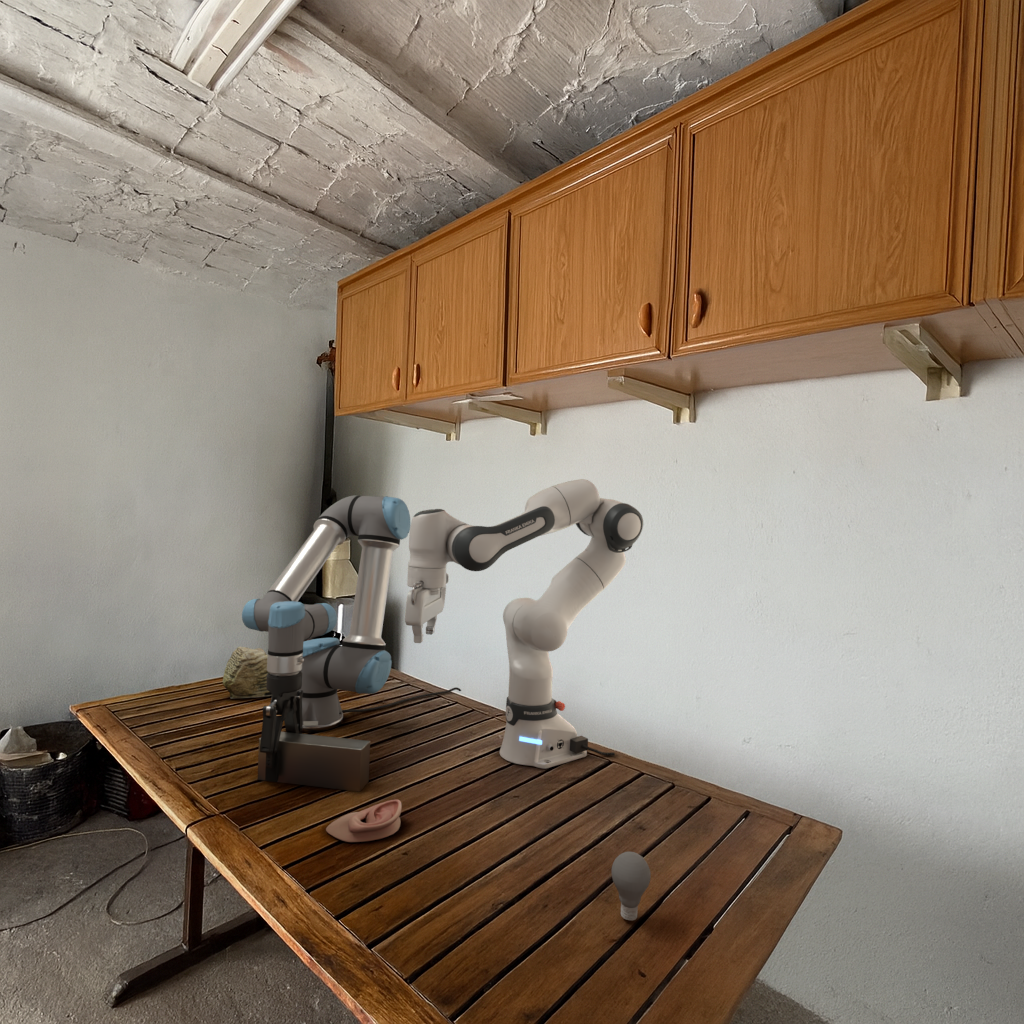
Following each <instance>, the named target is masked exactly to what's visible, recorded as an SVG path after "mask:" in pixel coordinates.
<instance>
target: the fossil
mask: <svg viewBox="0 0 1024 1024" xmlns="http://www.w3.org/2000/svg"><path fill="white" fill-rule="evenodd" d="M267 658H268V653H266V652H265V650H264V649H263V648H260V647H258V648H251V647H247V646H246V647H245V646H238V647H237V648H236V649H235V650H233V651H232V653H231V656H230V657H229V659H228V660H227V663H226V666H225V668H224V671H223V675H222V676H223V677H222V685H223V687H224V688H225V690H226V691H228V693H229V698H230V699H250V698H264V697H272V693H271V692H269V691H268V690H267V689H266V683H267V674H268V673H269V672H268V671H267Z"/></svg>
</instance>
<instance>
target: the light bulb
mask: <svg viewBox="0 0 1024 1024" xmlns="http://www.w3.org/2000/svg"><path fill="white" fill-rule="evenodd" d="M651 875H652V874H651V869H650V867H649V864H648V862H647V861H646V859H645V858H644V857H643V856H642V855H640V854H639V853H637V852H634V851H624V852H622V853H620V854H618V856H616V857H615V859H614V860H613V863H612V865H611V877H612V878H611V879H612V882H613V885H614V886H615V888H616V890H617V892H618V897H619V902H620V916H621V917H622V918H623V919H624V920H627V921H635V920H637V919H638V909H639V907H638V906H639V905H640V903H641V899H642V897H643V895H644V893H645V892H646V890H647V889H648V888H649V885H650V883H651V877H652V876H651Z"/></svg>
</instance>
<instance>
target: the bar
mask: <svg viewBox="0 0 1024 1024" xmlns="http://www.w3.org/2000/svg"><path fill="white" fill-rule="evenodd" d="M260 743H261V737H259V738H258V754H257V761H258V762H257V781H265V770H266V753H262V752H260ZM277 751H279V778H278V781H277V782H276V783H280V784H281V783H282V784H290V785H299V786H307V787H315V788H323V789H331V790H332V789H333V790H342V791H349V792H357V793H360V792H361V791H362V790H363V789H364V788H365V786H367V784H368V783H369V782H370V759H371V740H364V739H355V738H345V737H336V736H328V735H327V736H326V735H318V734H317V735H316V734H307V733H302V734H299V733H289V732H286V731H281V735H280V739H279V744H278V749H277ZM265 782H266V781H265Z"/></svg>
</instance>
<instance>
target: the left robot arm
mask: <svg viewBox="0 0 1024 1024" xmlns="http://www.w3.org/2000/svg"><path fill="white" fill-rule="evenodd" d="M313 523H314V524H313V530H312V532H311V533H310V534H309V536H308V537H307V539H305V541H304V543H303V544H301V546H300V548H299V549H298V551H297V552H296V553H295V555H294V556H293V557H292V558H291V560H290V561H289V563H287V565H286V566H285V568H284V569H283V570H282V572H281V573H280V575H279V576H278V577H277V578H276V580H275V581H274V582H273V584H272V585H271V586H270V588H269V589H268V590H267V592H265V594H264V595H263V597H262V598H253V599H250V600H248V601H247V602H246V603H245V604H244V606H243V609H242V611H241V620H242V623H243V625H244V626H245V627H246V628H247V629H250V630H254V631H258V632H262V633H263V632H267V633H268V635H267V637H268V639H267V641H268V643H267V645H268V646H267V655H268V658H267V671H268V672H269V673H268V674H267V683H266V689H267V690H268V691H269V692H271V693H272V696H270V697H271V698H270V701H269V704H268V705H263V707H262V726H261V734H260V738H261V743H260V752H262V753H266V770H265V782H272V783H278V782H277V781H278V778H279V751H277V749H278V744H279V739H280V735H281V732H282V729H283V724H284V727H285V732H289V733H299V734H303V733H316V732H325V731H329V730H332V729H335V728H337V727H339V726H340V725H342V723H343V722H344V713H363V712H369V711H376V710H380V709H385V708H388V707H389V708H390V707H393V706H396V705H398V704H402V703H405V702H408V701H409V702H410V701H413V700H416V699H417V700H418V699H420V698H426V697H430V696H431V697H432V696H437V695H443V694H448V693H451V692H453V691H455V690H457V692H462V689H461V688H460V687H453V688H450V689H448V690H447V689H446V690H443V691H436V692H431V693H430V692H429V693H423V694H420V695H416V696H410V697H407V698H404V699H400V700H397V701H393V702H391V703H387V704H384V705H379V706H374V707H369V708H362V709H361V708H360V709H342V706H341V702H340V699H339V695H338V691H345V692H351V693H357V694H359V695H360V694H361V695H362V694H366V695H367V694H368V695H373V694H376V693H378V692H379V691H380V690H382V689H383V687H384V685H385V684H386V683H387V682H388V679H389V677H390V673H391V669H392V663H393V662H392V661H393V660H392V656H391V654H390V652H388V651H387V650H386V644H387V643H385V641H384V639H383V638H382V634H383V627H384V625H383V624H384V621H385V620H384V619H385V612H386V606H387V605H386V604H387V599H388V591H389V584H390V576H391V571H392V570H391V569H392V562H393V555H394V552H395V551H396V550H397V549H398V548H399V547H400V544H401V540H404V539H406V538H407V537H408V536H409V534H410V527H411V515H410V510H409V508H408V505H407V503H406V502H405V501H404V500H403V499H401V498H400V497H394V496H387V495H385V496H380V495H379V496H378V495H360V494H359V495H358V494H356V495H355V494H354V495H350V496H346V497H343V498H341V499H339V500H338V501H336V502H334V503H333V504H332V505H330V506H329V507H328V508H326V509H325V510H324V511H323V512H322V513H321V514H320V515H319V516H318V518H317V519H316V520H315V522H313ZM353 536H355V537H357V543H358V544H359V545H360V547H361V553H360V559H359V566H358V567H359V568H358V574H357V580H356V587H355V595H354V601H353V608H352V614H351V621H350V626H349V627H350V628H349V633H348V635H346V637H344V638H343V639H342V643H341V641H340V639H339V638H337V637H321V636H324V635H326V634H328V633H330V632H331V631H333V630H334V629H335V628H336V626H337V622H338V616H337V615H338V614H337V612H336V610H335V608H334V607H333V606H332V605H331V604H329V603H326V602H322V603H318V602H316V603H314V604H306V603H302V602H301V601H299V600H300V599H301V597H302V596H303V595H304V593H305V592H306V590H307V589H308V587H309V586H310V585H311V583H312V582H313V581H314V579H315V578H316V576H317V575H318V574H319V572H320V570H322V568H323V566H324V565H325V563H326V562H327V560H328V559H329V558H330V556H331V555H332V554H333V552H334V551H335V549H336V547H337V546H340V545H342V544H343V543H345V541H346V540H347V539H348V538H350V537H353ZM317 637H321V638H317ZM340 644H341V645H340Z"/></svg>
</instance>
